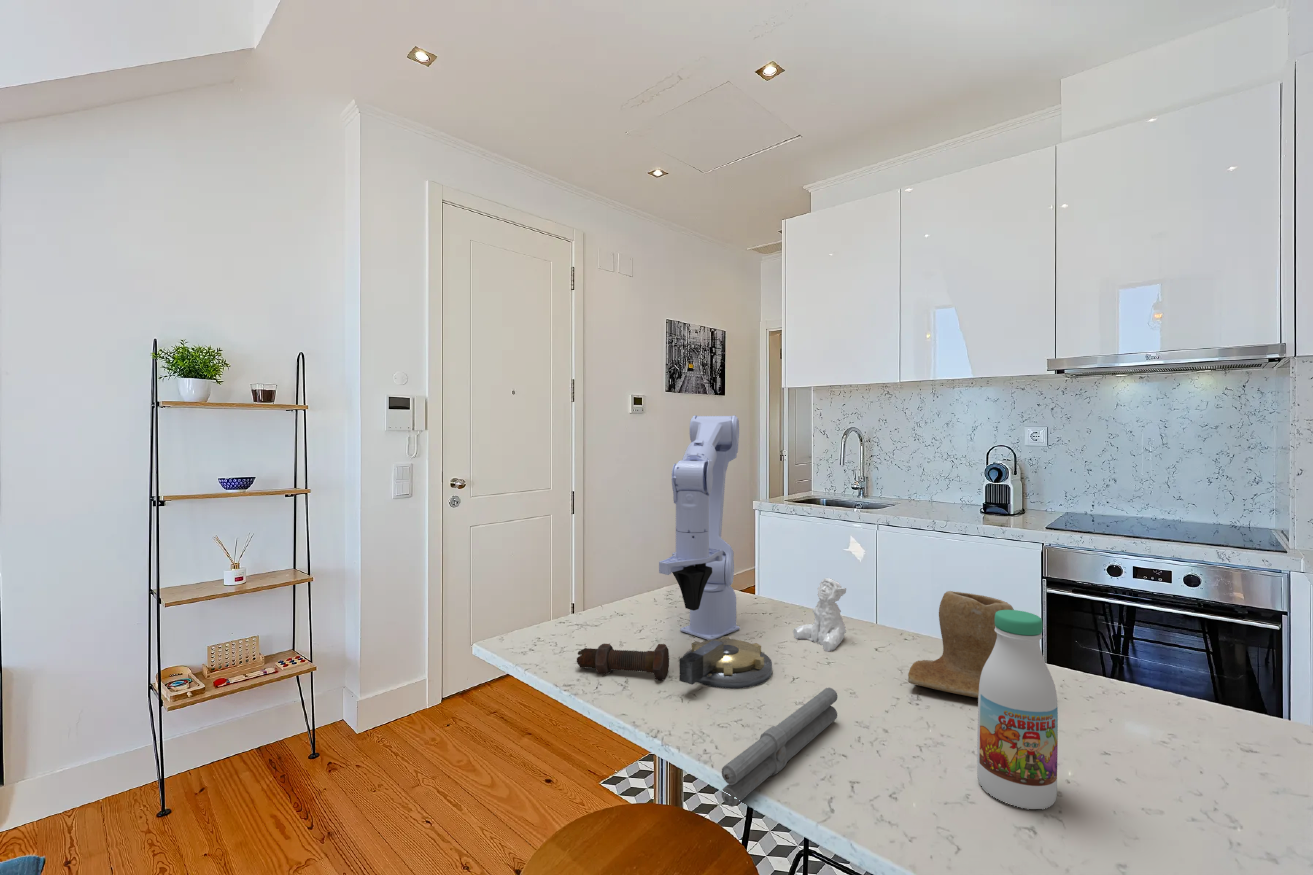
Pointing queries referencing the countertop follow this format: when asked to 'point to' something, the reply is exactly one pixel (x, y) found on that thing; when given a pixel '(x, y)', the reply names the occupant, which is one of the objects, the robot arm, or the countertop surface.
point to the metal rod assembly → (777, 746)
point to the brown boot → (961, 644)
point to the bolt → (626, 660)
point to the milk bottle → (1018, 716)
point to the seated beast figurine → (825, 617)
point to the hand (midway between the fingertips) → (692, 608)
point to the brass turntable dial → (719, 658)
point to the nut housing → (738, 676)
